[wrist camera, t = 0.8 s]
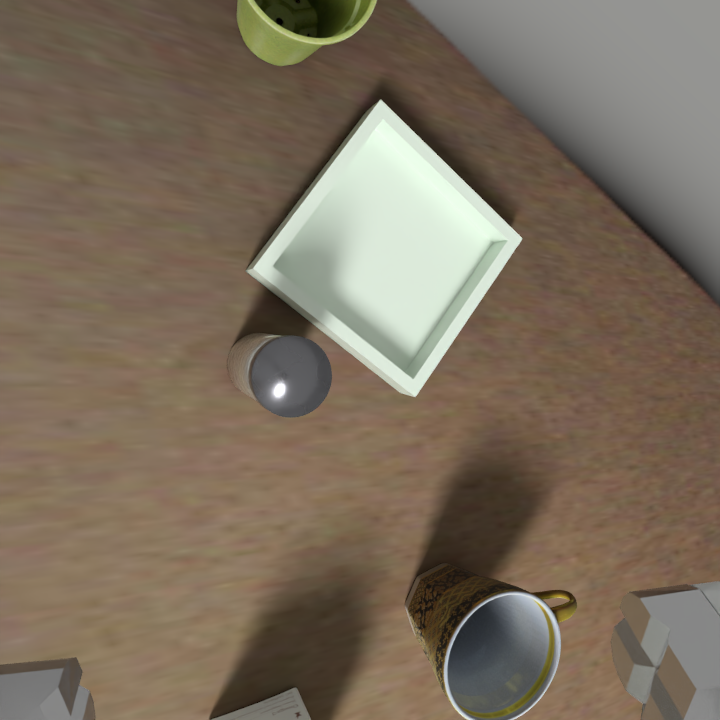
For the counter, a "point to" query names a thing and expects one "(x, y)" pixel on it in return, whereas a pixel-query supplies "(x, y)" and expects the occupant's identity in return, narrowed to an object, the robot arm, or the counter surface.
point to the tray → (387, 251)
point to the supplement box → (273, 709)
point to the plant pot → (298, 26)
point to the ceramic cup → (487, 640)
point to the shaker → (280, 372)
